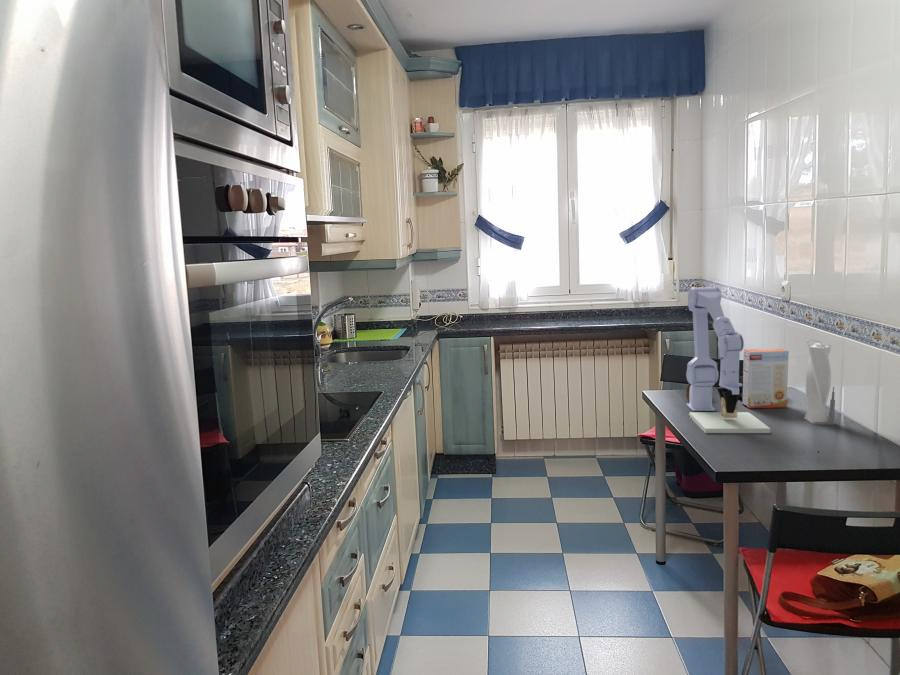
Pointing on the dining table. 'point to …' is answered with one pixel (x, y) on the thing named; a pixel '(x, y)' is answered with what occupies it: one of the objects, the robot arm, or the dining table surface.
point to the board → (728, 423)
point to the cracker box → (765, 378)
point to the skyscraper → (819, 385)
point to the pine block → (724, 412)
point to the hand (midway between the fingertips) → (728, 410)
